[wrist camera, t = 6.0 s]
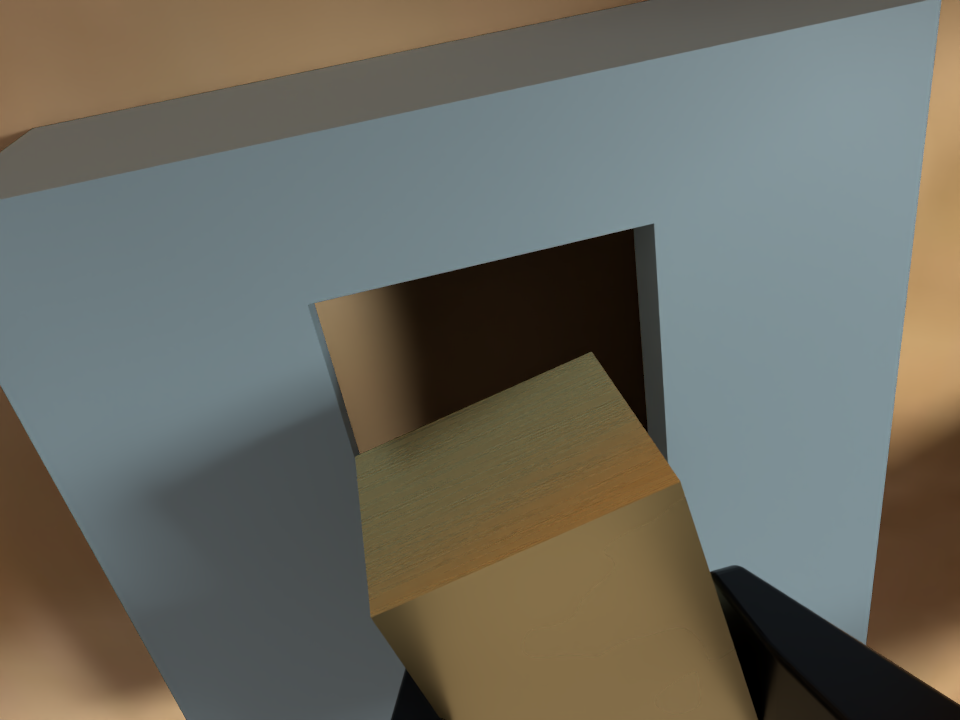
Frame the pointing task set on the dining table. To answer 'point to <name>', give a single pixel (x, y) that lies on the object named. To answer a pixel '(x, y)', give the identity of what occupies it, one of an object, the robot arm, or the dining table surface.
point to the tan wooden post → (545, 563)
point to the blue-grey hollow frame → (450, 246)
